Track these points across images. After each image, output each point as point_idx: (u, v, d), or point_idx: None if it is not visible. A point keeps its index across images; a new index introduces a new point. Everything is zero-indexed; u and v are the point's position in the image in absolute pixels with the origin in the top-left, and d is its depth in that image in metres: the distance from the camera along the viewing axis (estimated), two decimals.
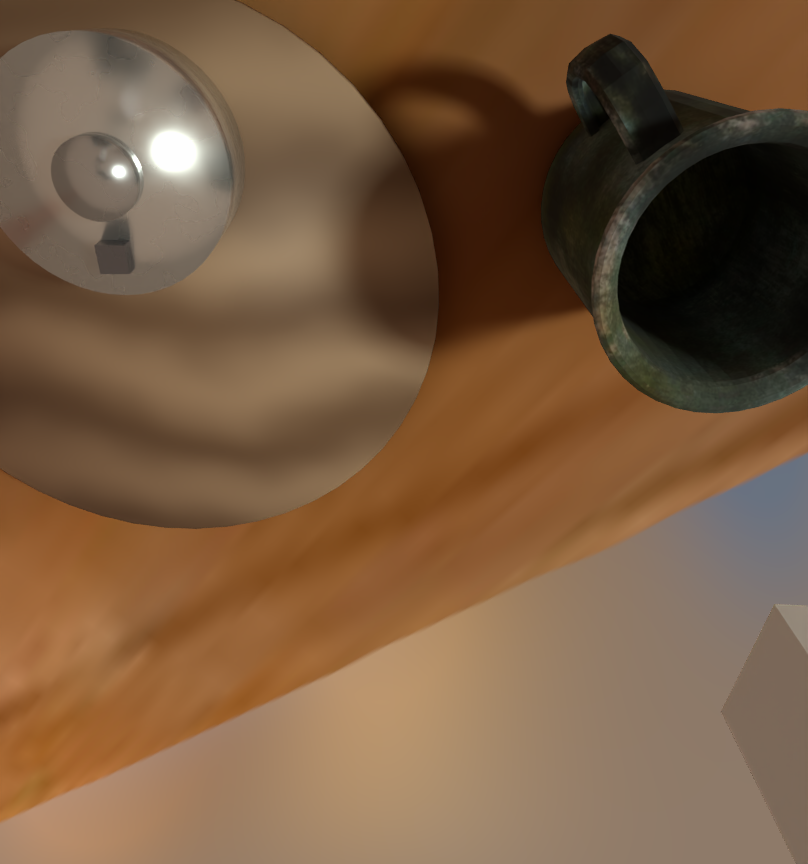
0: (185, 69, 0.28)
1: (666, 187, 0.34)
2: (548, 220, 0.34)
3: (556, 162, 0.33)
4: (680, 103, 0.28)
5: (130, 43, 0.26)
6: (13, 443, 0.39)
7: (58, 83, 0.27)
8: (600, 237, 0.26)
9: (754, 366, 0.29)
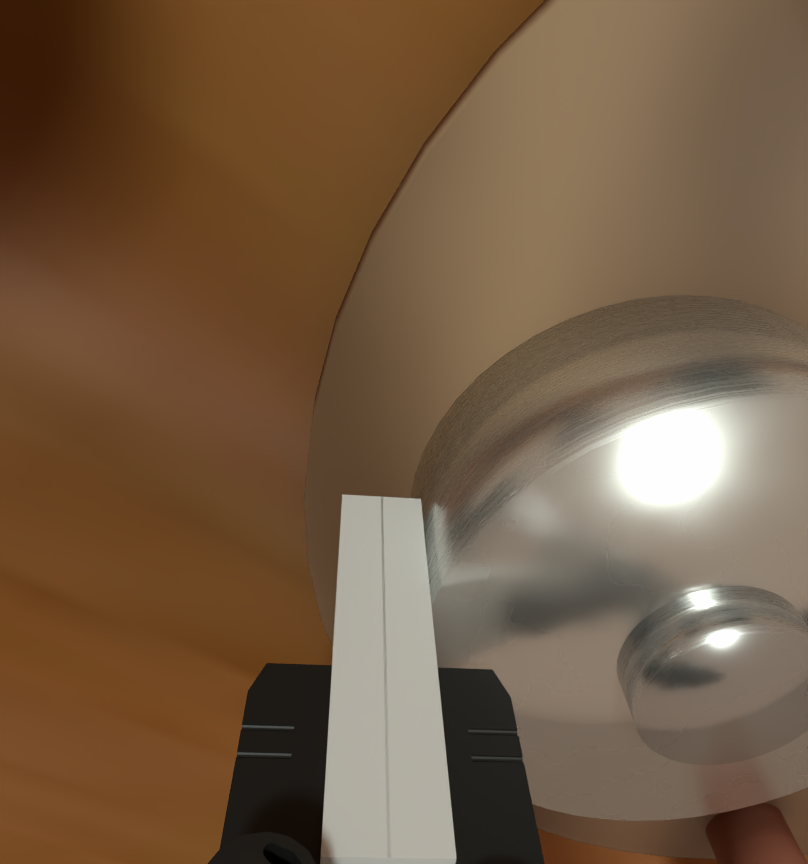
0: (518, 421, 0.12)
1: None
2: None
3: None
4: None
5: (459, 555, 0.11)
6: None
7: (514, 687, 0.12)
8: None
9: None
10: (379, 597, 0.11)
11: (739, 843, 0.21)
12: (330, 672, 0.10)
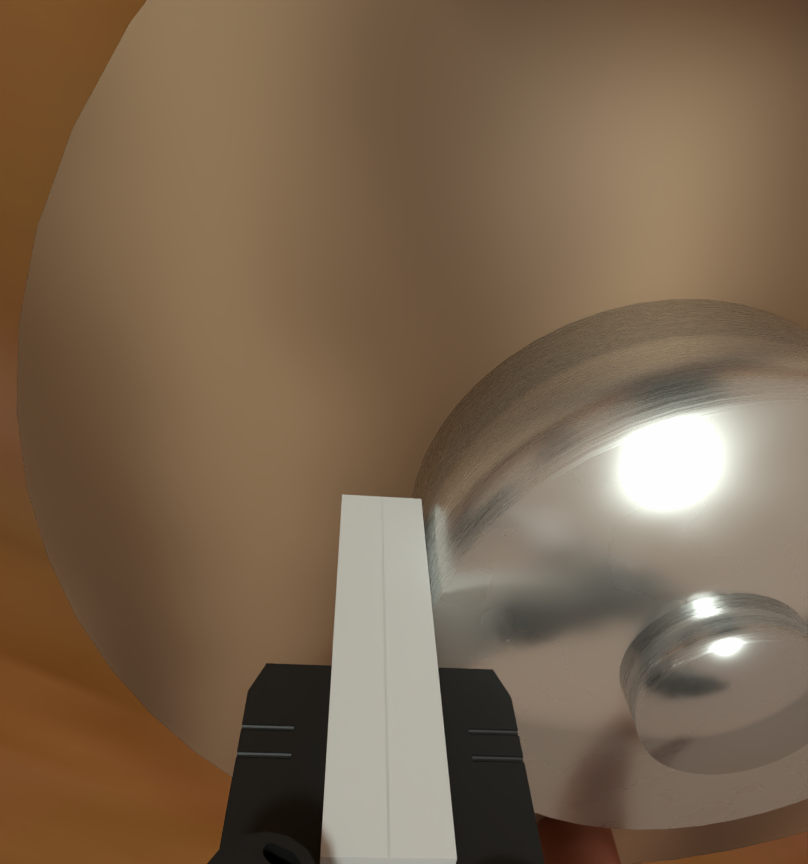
0: (519, 427, 0.12)
1: None
2: None
3: None
4: None
5: (459, 562, 0.11)
6: None
7: (515, 694, 0.12)
8: None
9: None
10: (379, 597, 0.11)
11: (554, 850, 0.20)
12: (330, 672, 0.10)
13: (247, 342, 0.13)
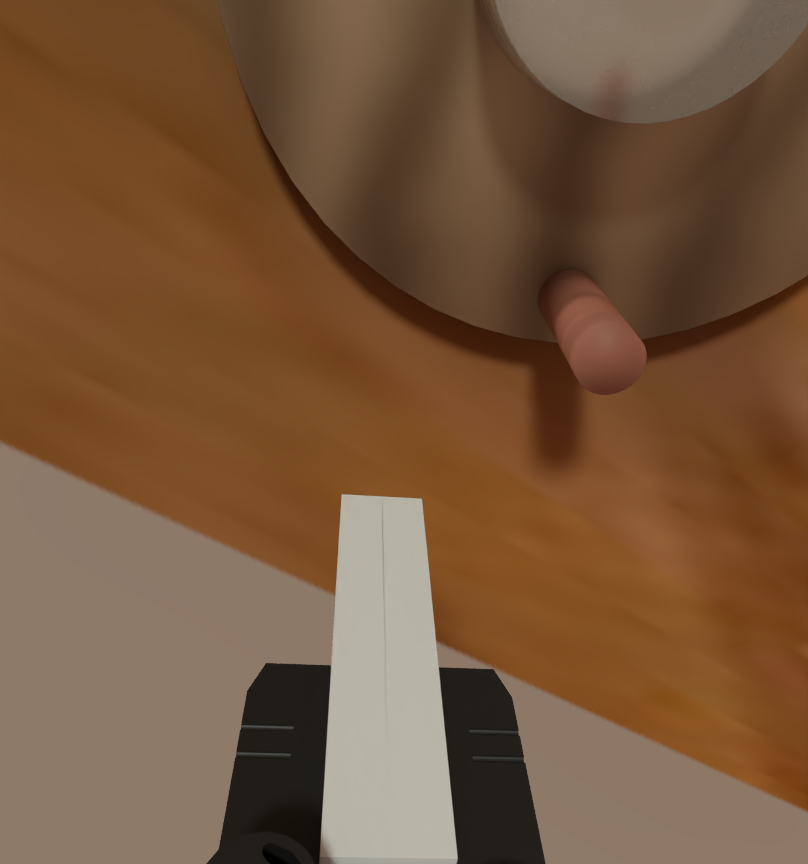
0: None
1: None
2: None
3: None
4: None
5: None
6: (780, 244, 0.28)
7: None
8: None
9: None
10: (380, 597, 0.11)
11: (555, 286, 0.28)
12: (329, 672, 0.10)
13: None
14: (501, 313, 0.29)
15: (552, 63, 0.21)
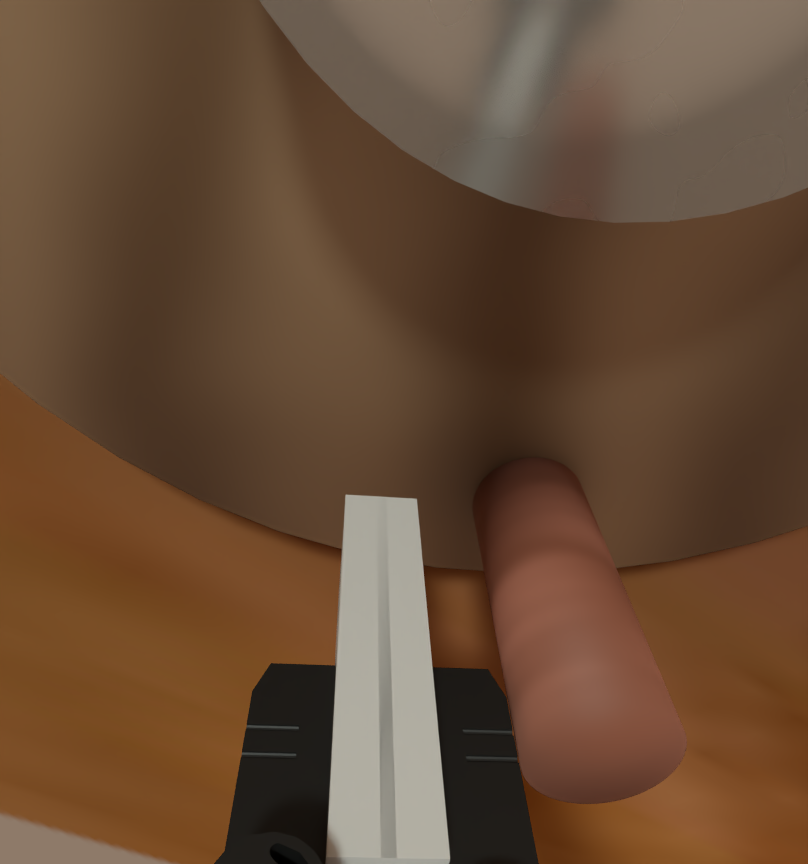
0: None
1: None
2: None
3: None
4: None
5: None
6: None
7: None
8: None
9: None
10: (374, 597, 0.11)
11: (498, 501, 0.14)
12: (334, 672, 0.10)
13: None
14: None
15: (401, 81, 0.07)
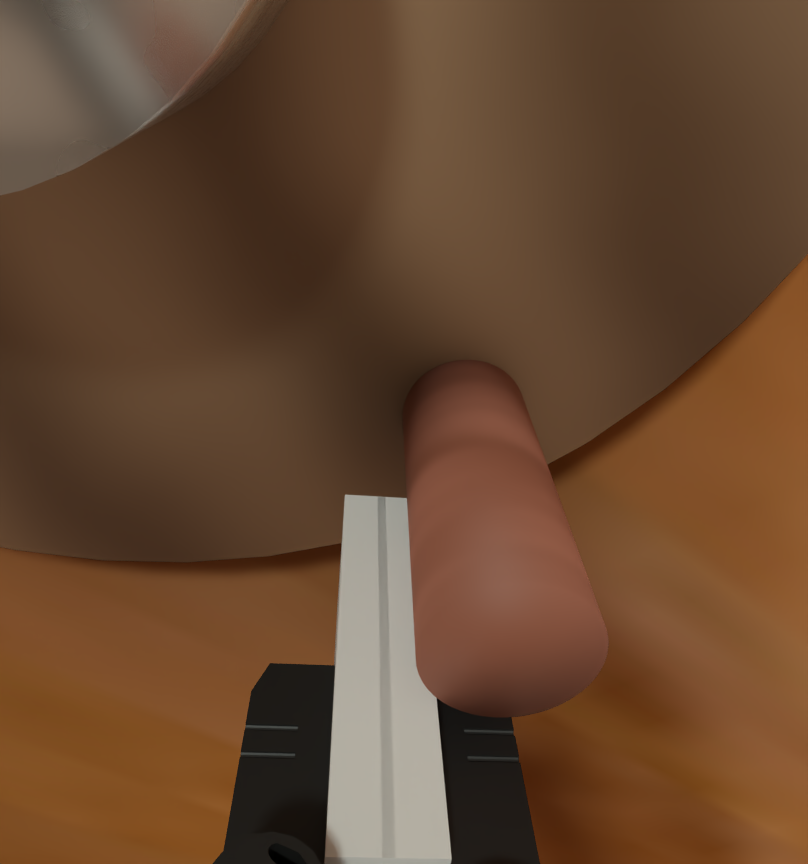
0: None
1: None
2: None
3: None
4: None
5: None
6: None
7: None
8: None
9: None
10: (375, 597, 0.11)
11: (405, 433, 0.13)
12: (333, 672, 0.10)
13: None
14: None
15: None
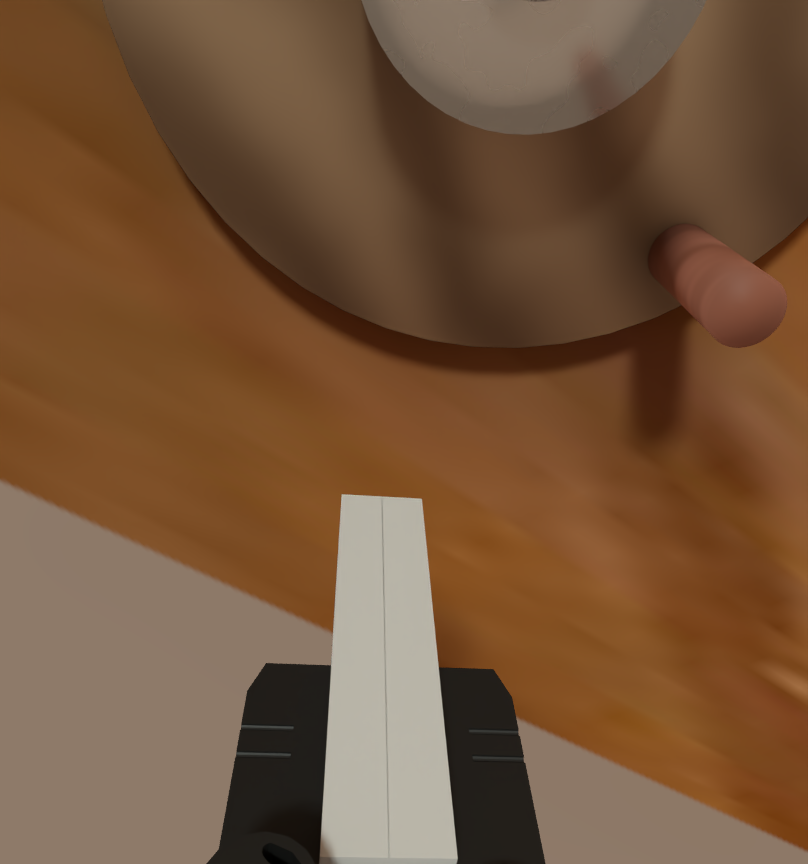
0: None
1: None
2: None
3: None
4: None
5: None
6: None
7: (451, 41, 0.20)
8: None
9: None
10: (380, 597, 0.11)
11: (658, 258, 0.26)
12: (329, 672, 0.10)
13: (225, 4, 0.23)
14: (626, 308, 0.28)
15: (517, 114, 0.21)
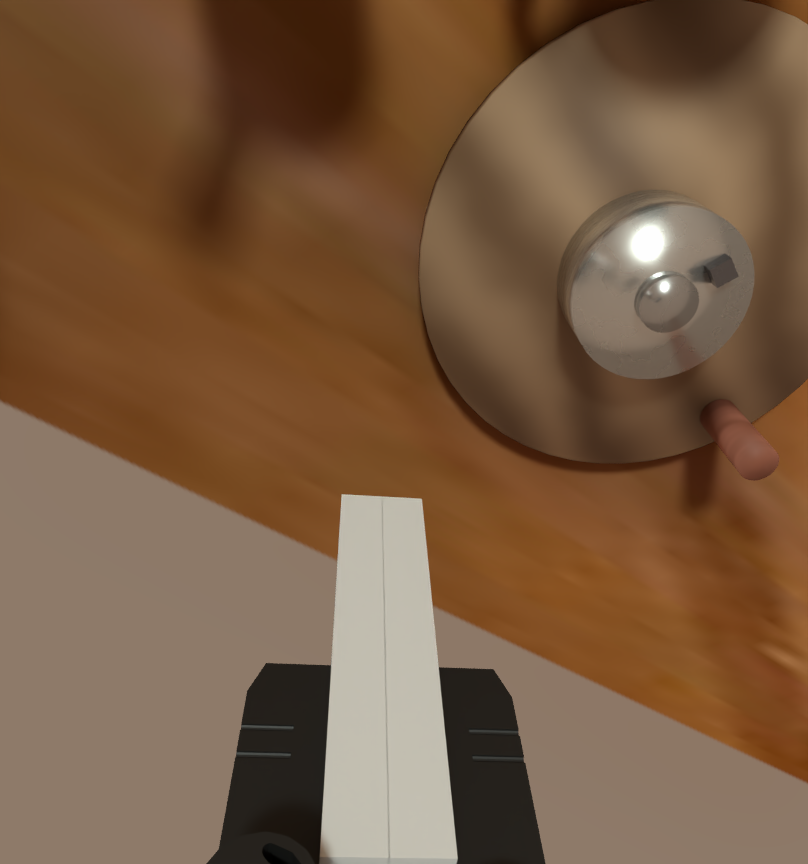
0: (569, 273, 0.40)
1: None
2: None
3: None
4: None
5: (572, 313, 0.40)
6: None
7: (615, 341, 0.41)
8: None
9: None
10: (380, 597, 0.11)
11: (707, 420, 0.47)
12: (329, 672, 0.10)
13: (485, 303, 0.44)
14: (686, 441, 0.49)
15: (644, 370, 0.42)
